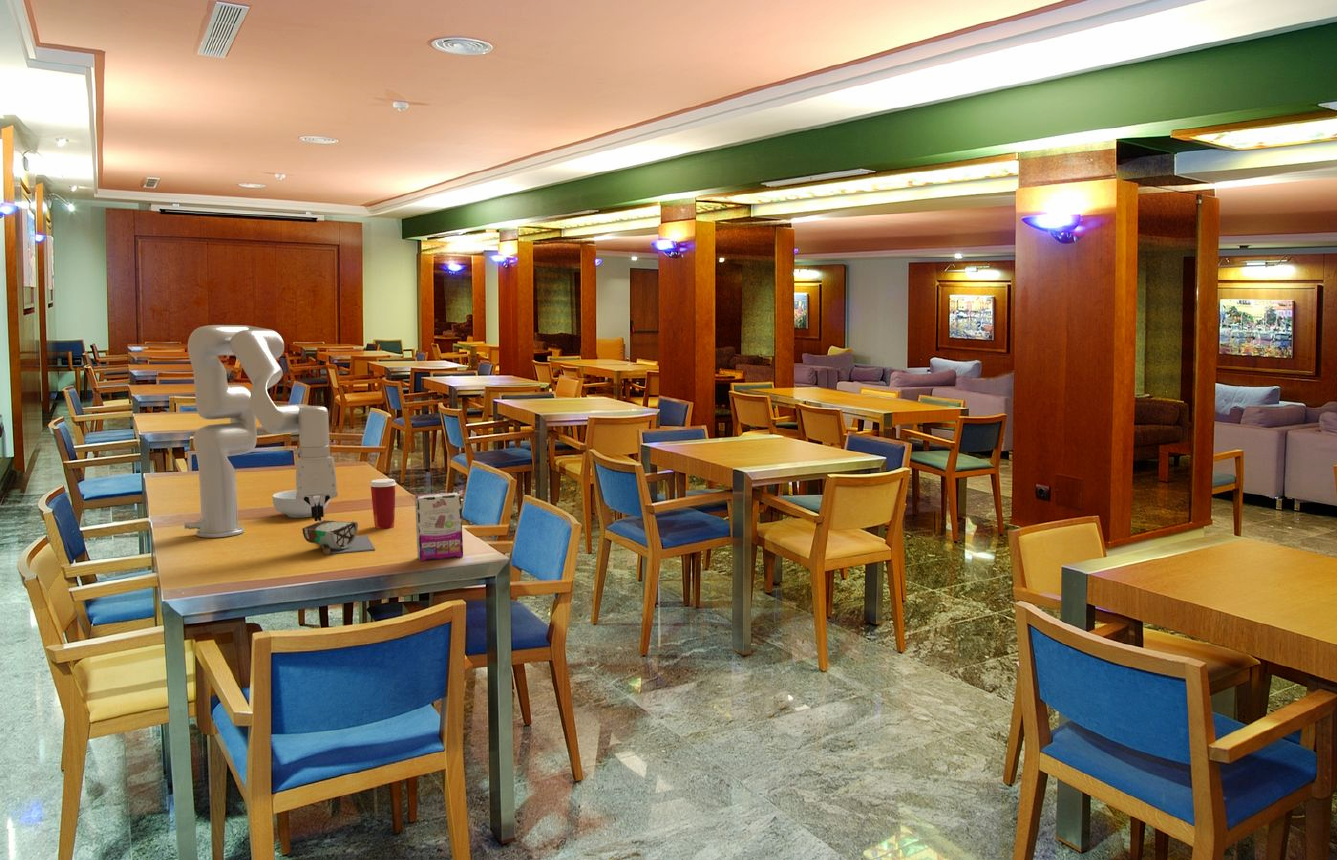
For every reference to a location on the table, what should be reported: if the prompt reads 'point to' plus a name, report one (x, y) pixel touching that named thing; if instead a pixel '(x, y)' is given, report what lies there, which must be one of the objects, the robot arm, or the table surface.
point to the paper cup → (383, 502)
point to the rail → (326, 549)
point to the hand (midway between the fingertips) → (317, 520)
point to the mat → (356, 546)
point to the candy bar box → (439, 526)
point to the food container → (331, 533)
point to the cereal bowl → (293, 504)
